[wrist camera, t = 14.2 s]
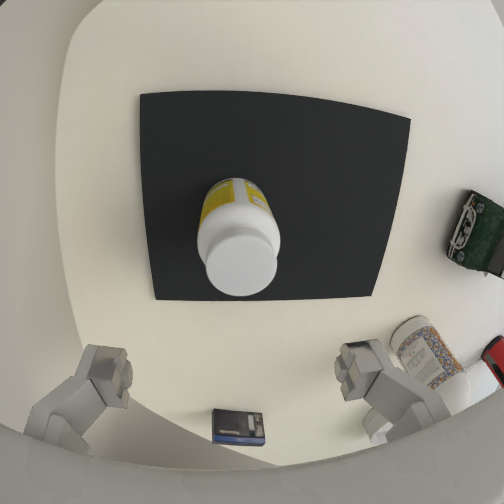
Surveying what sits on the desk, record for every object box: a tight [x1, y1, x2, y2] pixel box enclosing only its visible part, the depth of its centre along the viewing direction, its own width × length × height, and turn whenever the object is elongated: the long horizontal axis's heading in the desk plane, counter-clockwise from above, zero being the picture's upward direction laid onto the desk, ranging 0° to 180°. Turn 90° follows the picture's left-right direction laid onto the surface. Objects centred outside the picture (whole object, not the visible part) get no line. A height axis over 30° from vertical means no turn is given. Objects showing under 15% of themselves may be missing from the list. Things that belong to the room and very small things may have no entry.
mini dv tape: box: [212, 409, 265, 446], centre depth 39 cm, size 8×2×6 cm, turn 72°
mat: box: [140, 91, 411, 301], centre depth 25 cm, size 24×20×1 cm
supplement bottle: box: [197, 178, 280, 296], centre depth 20 cm, size 5×5×10 cm
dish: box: [363, 408, 393, 444], centre depth 47 cm, size 22×22×5 cm
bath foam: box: [391, 317, 471, 416], centre depth 27 cm, size 7×7×20 cm
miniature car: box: [446, 190, 504, 279], centre depth 25 cm, size 9×18×8 cm, turn 79°
